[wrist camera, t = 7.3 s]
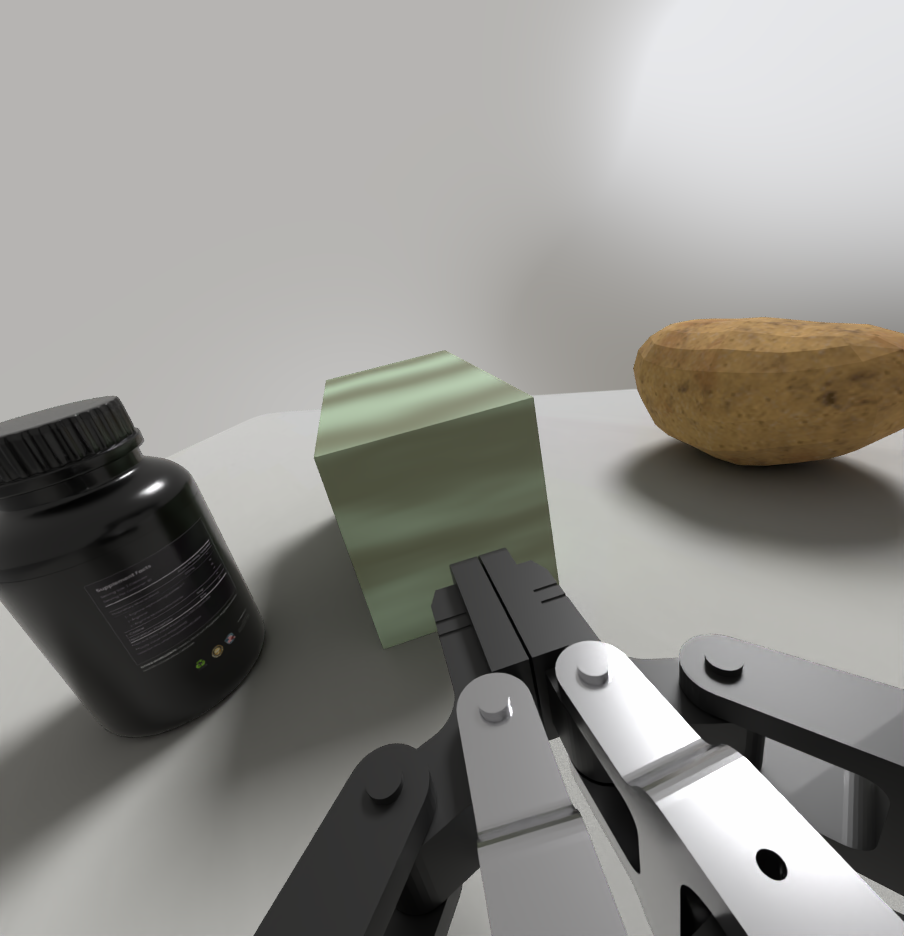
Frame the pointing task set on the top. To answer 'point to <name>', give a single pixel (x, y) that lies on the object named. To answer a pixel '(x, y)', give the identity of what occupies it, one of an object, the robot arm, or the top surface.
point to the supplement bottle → (120, 570)
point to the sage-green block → (430, 480)
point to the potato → (773, 387)
